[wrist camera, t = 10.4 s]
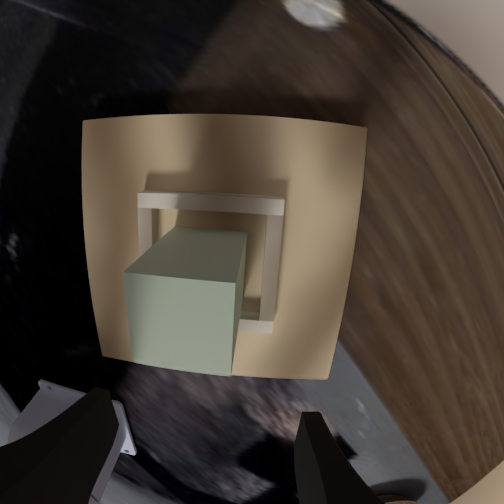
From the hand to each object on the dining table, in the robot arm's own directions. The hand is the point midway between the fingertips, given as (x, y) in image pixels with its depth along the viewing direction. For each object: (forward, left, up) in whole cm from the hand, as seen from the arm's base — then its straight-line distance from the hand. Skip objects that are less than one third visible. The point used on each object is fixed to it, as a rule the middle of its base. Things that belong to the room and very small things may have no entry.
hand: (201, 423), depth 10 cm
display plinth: (-1, +3, -10) cm, 11 cm away
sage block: (-1, +3, -9) cm, 9 cm away
